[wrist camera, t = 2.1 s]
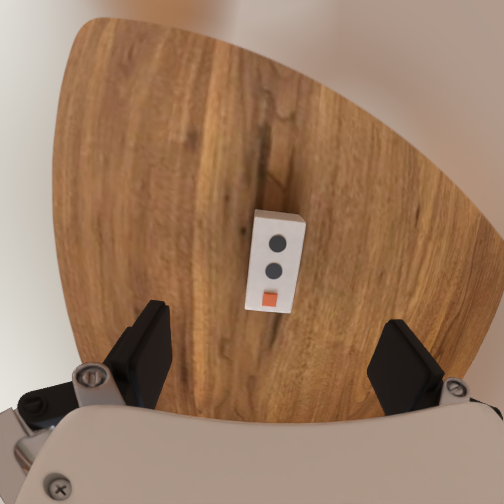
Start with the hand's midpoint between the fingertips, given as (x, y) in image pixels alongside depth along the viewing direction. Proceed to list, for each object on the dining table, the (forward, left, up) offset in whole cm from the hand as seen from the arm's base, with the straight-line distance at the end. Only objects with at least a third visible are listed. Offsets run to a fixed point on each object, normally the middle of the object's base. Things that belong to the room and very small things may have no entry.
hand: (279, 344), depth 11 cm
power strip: (0, 0, -12) cm, 12 cm away
